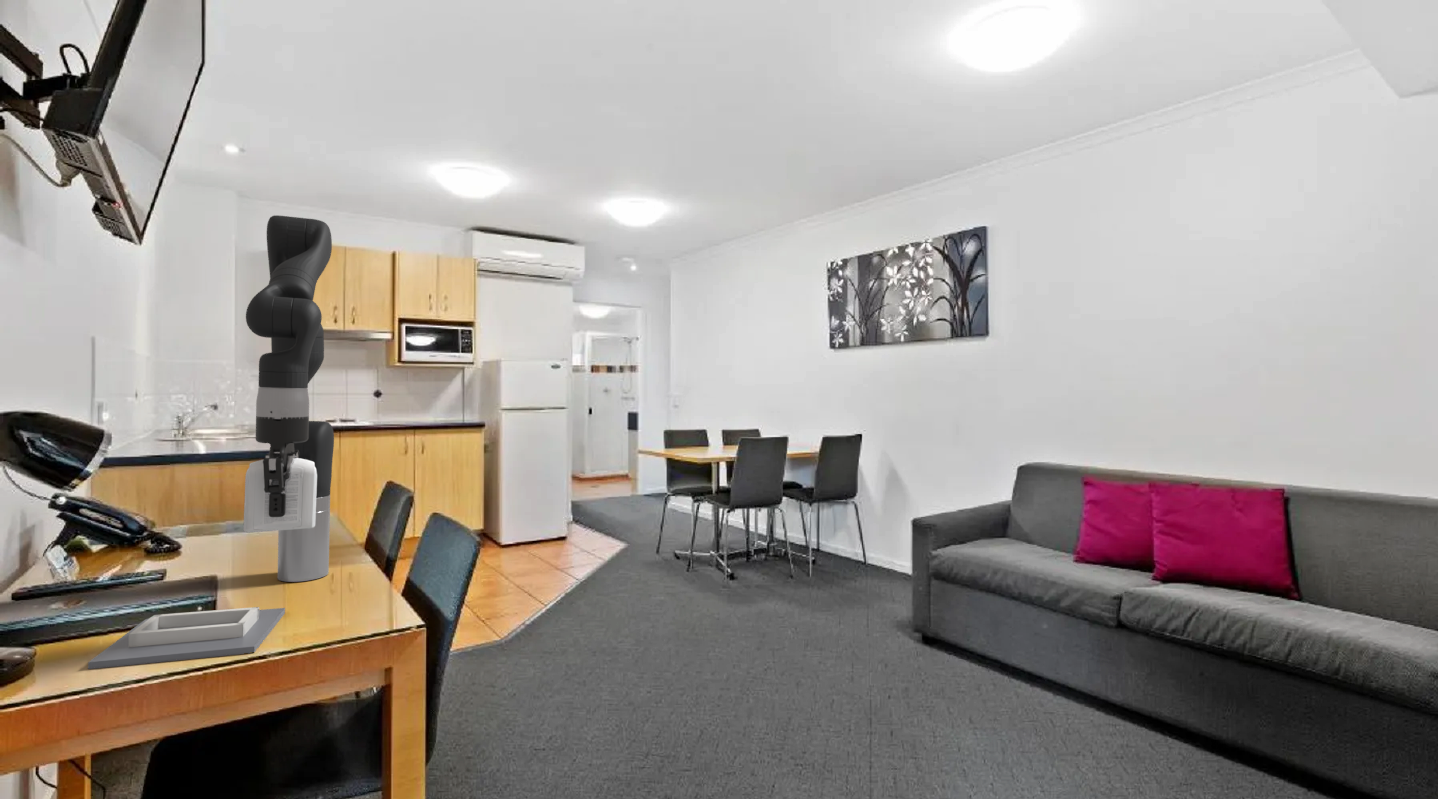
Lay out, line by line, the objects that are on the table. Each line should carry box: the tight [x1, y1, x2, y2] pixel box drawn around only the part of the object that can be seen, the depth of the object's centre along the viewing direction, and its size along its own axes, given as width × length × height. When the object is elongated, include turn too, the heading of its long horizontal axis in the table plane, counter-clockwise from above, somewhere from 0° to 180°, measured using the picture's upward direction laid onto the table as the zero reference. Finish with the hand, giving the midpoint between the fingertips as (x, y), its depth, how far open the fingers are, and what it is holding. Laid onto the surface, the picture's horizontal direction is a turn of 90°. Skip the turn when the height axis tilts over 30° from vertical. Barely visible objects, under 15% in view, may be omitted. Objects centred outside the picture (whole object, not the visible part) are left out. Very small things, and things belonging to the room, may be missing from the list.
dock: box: [87, 606, 286, 670], centre depth 105 cm, size 18×20×3 cm
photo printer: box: [243, 458, 317, 533], centre depth 111 cm, size 10×4×12 cm, turn 125°
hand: (280, 512), depth 111 cm, fingers closed on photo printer, 5 cm apart
